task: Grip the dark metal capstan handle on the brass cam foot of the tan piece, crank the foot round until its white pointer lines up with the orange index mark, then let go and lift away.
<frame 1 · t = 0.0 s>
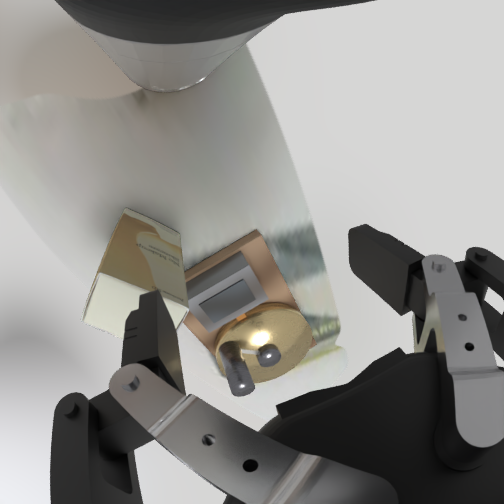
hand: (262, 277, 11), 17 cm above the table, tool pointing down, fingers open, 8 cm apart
skincare box: (142, 237, 27), on the table
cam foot: (271, 364, 32), point 6 cm above the table, hinge at 40.0°
tan piece: (247, 318, 35), on the table
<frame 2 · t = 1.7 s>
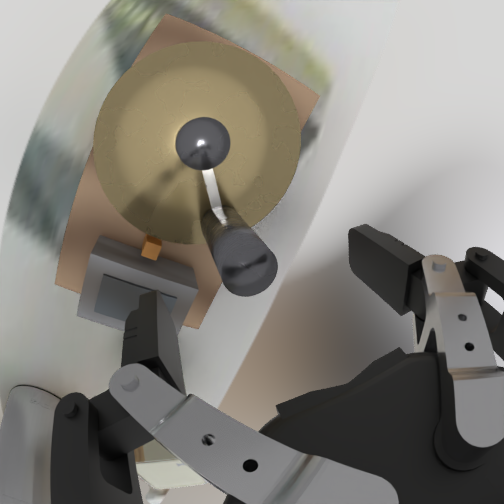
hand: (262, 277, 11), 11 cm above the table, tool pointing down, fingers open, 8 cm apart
skincare box: (155, 356, 25), on the table
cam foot: (206, 146, 13), point 6 cm above the table, hinge at 40.0°
tan piece: (174, 180, 19), on the table
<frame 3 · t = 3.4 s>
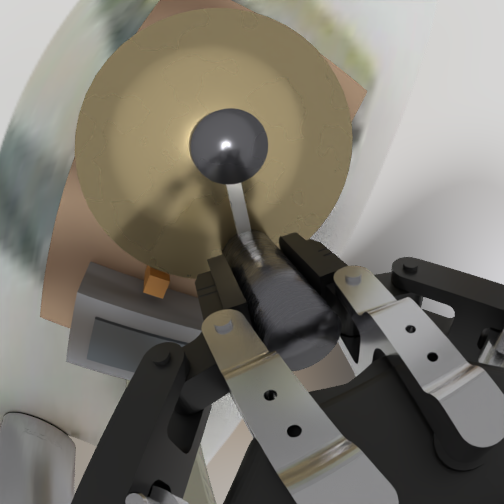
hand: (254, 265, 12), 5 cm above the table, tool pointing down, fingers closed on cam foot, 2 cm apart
skincare box: (161, 390, 21), on the table
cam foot: (236, 151, 9), point 6 cm above the table, hinge at 40.0°, touching gripper
tan piece: (185, 190, 15), on the table
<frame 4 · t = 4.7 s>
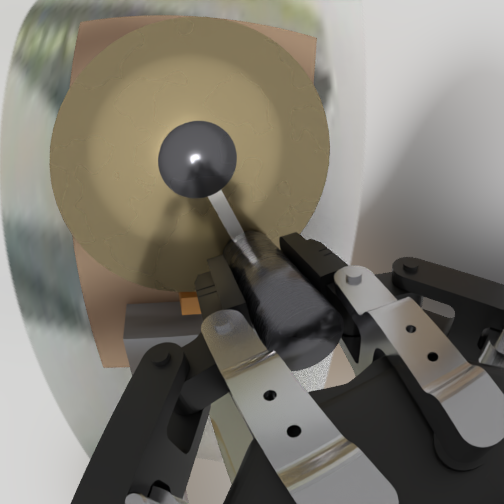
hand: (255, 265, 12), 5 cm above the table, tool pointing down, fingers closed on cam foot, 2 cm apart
skincare box: (239, 387, 23), on the table
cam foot: (202, 164, 9), point 6 cm above the table, hinge at 30.7°, touching gripper
tan piece: (184, 206, 15), on the table
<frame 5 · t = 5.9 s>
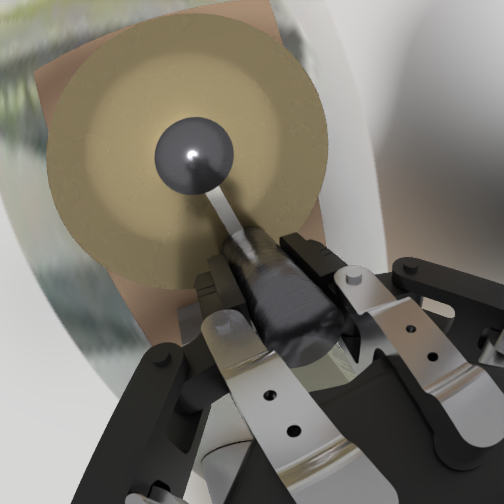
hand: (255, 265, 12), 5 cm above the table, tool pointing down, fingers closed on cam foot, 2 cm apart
skincare box: (308, 354, 23), on the table
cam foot: (198, 161, 9), point 6 cm above the table, hinge at 11.6°, touching gripper
tan piece: (201, 199, 15), on the table
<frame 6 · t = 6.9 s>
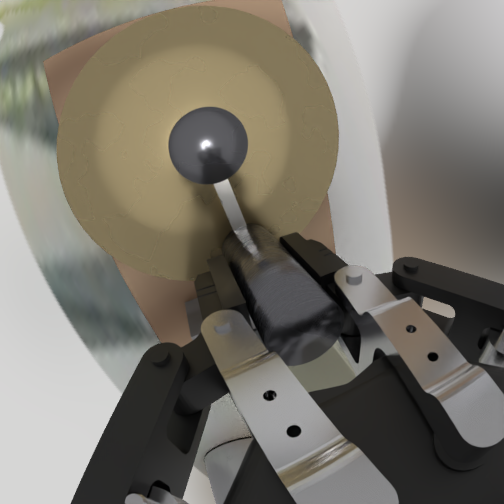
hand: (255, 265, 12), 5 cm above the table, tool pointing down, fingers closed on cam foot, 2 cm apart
skincare box: (314, 349, 24), on the table
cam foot: (213, 149, 9), point 6 cm above the table, hinge at 5.5°, touching gripper
tan piece: (211, 192, 15), on the table
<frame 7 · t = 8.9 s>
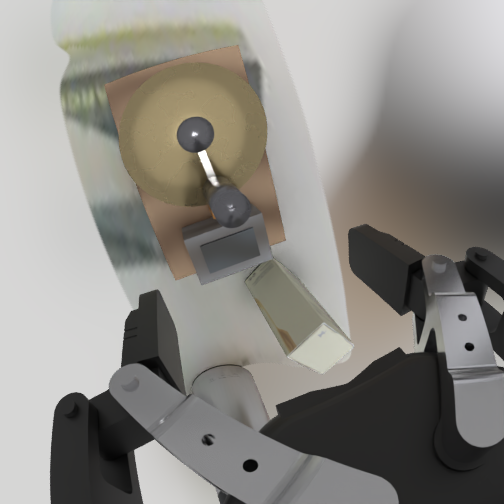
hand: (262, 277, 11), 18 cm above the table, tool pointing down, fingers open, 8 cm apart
skincare box: (273, 281, 34), on the table
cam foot: (197, 136, 19), point 6 cm above the table, hinge at 5.3°
tan piece: (199, 162, 26), on the table
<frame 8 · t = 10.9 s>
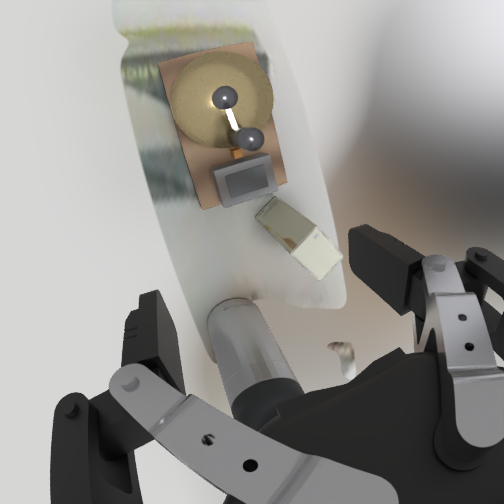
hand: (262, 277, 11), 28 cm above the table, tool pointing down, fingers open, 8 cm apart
skincare box: (278, 219, 42), on the table
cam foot: (227, 97, 28), point 6 cm above the table, hinge at 5.3°
tan piece: (224, 122, 34), on the table
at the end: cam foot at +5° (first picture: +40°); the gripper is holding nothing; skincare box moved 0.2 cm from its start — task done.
